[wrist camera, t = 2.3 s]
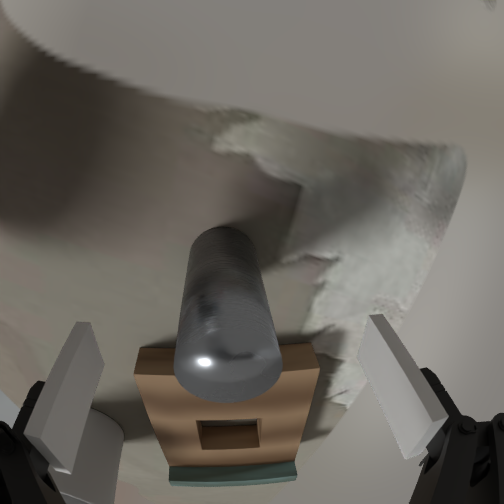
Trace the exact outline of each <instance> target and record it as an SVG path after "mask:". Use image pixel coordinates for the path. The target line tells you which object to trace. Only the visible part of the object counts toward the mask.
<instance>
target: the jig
mask: <svg viewBox="0 0 504 504" xmlns="http://www.w3.org/2000/svg"><path fill="white" fill-rule="evenodd" d="M175 349H176V348H140V349H139V353H138V357H137V362H136V366H135V370H134V377H135V380H136V383H137V386H138V389H139V392H140V395H141V397H142V400H143V403H144V406H145V408H146V411H147V414H148V416H149V419H150V422H151V424H152V427H153V429H154V432H155V434H156V436H157V439H158V441H159V444H160V446H161V448H162V451H163V453H164V455H165V457H166V460H167V462H168V464H169V482H170V484H171V486H192V487H220V486H244V485H258V484H269V483H279V482H287V481H294V480H296V478H297V471H296V467H295V462H294V461H295V457H296V454H297V451H298V448H299V444H300V441H301V438H302V434H303V431H304V427H305V424H306V420H307V417H308V413H309V410H310V406H311V402H312V398H313V395H314V391H315V387H316V383H317V379H318V375H319V371H320V366H319V363H318V361H317V358H316V355H315V352H314V350H313V347H312V344H311V343H299V344H286V345H279V349H280V353H281V357H282V362H283V368H282V373H281V375H280V377H279V379H278V380H277V382H276V383H275V384H274V385H273V386H272V387H271V388H270V389H269V390H268V391H266V392H265V393H263V394H261V395H259V396H257V397H255V398H252V399H249V400H246V401H241V402H234V403H219V402H212V401H208V400H204V399H201V398H199V397H197V396H195V395H193V394H191V393H189V392H188V391H187V390H185V389H184V388H183V387H182V386H181V385H180V383H179V382H178V381H177V379H176V377H175V374H174V368H173V366H174V357H175ZM253 418H257V425H243V426H217V427H202V425H201V420H235V419H253Z"/></svg>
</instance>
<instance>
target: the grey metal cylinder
mask: <svg viewBox="0 0 504 504" xmlns="http://www.w3.org/2000/svg"><path fill="white" fill-rule="evenodd" d="M173 368H174V374H175V377H176V379H177V381H178V382H179V383H180V385H181V386H182V387H183V388H184V389H185V390H187V391H188V392H189V393H191V394H193V395H195V396H197V397H199V398H201V399H204V400H208V401H212V402H219V403H234V402H241V401H246V400H249V399H252V398H255V397H257V396H259V395H261V394H263V393H265V392H266V391H268V390H269V389H270V388H271V387H272V386H273V385H274V384H275V383H276V382H277V380H278V379H279V377H280V375H281V373H282V368H283V362H282V357H281V353H280V349H279V345H278V341H277V337H276V333H275V328H274V324H273V320H272V316H271V312H270V308H269V304H268V300H267V296H266V292H265V288H264V284H263V280H262V276H261V272H260V268H259V264H258V259H257V255H256V251H255V248H254V245H253V243H252V242H251V240H250V239H249V238H248V237H247V236H246V235H245V234H244V233H242V232H241V231H239V230H236V229H234V228H229V227H217V228H212V229H209V230H207V231H205V232H204V233H202V234H201V235H200V236H198V238H197V239H196V240H195V241H194V243H193V245H192V247H191V250H190V255H189V261H188V267H187V273H186V279H185V285H184V292H183V298H182V305H181V312H180V319H179V326H178V334H177V341H176V349H175V357H174V366H173Z"/></svg>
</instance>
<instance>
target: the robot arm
mask: <svg viewBox="0 0 504 504" xmlns="http://www.w3.org/2000/svg"><path fill="white" fill-rule="evenodd" d="M357 358H358V360H359V362H360V364H361V366H362V368H363V370H364V372H365V374H366V377H367V379H368V381H369V383H370V385H371V387H372V389H373V391H374V393H375V395H376V397H377V400H378V402H379V404H380V406H381V408H382V410H383V412H384V414H385V417H386V419H387V421H388V423H389V425H390V428H391V429H392V432H393V434H394V436H395V439H396V441H397V443H398V445H399V447H400V450H401V452H402V454H403V457H404V459H405V460H406V459H409V458H411V457H415V456H418V455H420V454H421V453H422V451H423V450H424V449H425V448H427V450H428V452H429V453H428V454H427V455H426V456H425V458H424V459H423V460H422V461H421V462H420V464H419V466H421V465H422V464H423V463H424V465H423V468H422V470H421V473H420V476H419V479H418V482H417V484H416V487H415V490H414V492H413V495H412V497H411V500H410V502H409V504H504V413H499V414H497V415H496V416H494V418H493V419H492V420H491V421H486V422H476V421H475V420H474V419H473V418H471V417H469V416H463V415H461V413H460V412H459V410H458V408H457V407H456V405H455V404H454V402H453V400H452V399H451V397H450V396H449V394H448V393H447V391H445V388H444V387H443V385H442V384H441V382H440V380H439V379H438V377H437V376H436V374H434V373H433V372H432V371H431V370H429V369H428V368H422V369H419V368H418V366H417V365H416V363H415V361H414V360H413V358H412V357H411V355H410V354H409V352H408V351H407V349H406V348H405V346H404V345H403V343H402V342H401V340H400V339H399V337H398V336H397V334H396V333H395V331H394V330H393V328H392V327H391V326H390V324H389V323H388V321H387V320H386V318H385V317H384V315H383V314H377V315H369V317H368V320H367V324H366V328H365V331H364V335H363V338H362V342H361V345H360V349H359V352H358V355H357ZM104 365H105V364H104V362H103V359H102V356H101V353H100V350H99V347H98V345H97V342H96V339H95V335H94V332H93V329H92V326H91V323H90V322H76V324H75V326H74V327H73V329H72V331H71V333H70V335H69V337H68V339H67V340H66V342H65V344H64V346H63V348H62V350H61V352H60V354H59V356H58V358H57V360H56V362H55V364H54V366H53V368H52V370H51V372H50V374H49V376H48V378H47V380H46V382H43V381H37V382H36V383H35V384H34V385H33V386H32V387H31V388H30V390H29V393H28V395H27V397H26V399H25V401H24V403H23V407H21V410H20V412H19V414H18V417H17V419H16V421H15V423H14V426H13V428H12V429H11V428H10V427H9V425H8V424H6V423H5V422H3V421H0V504H66V503H65V501H64V499H63V497H62V495H61V494H60V492H59V490H58V488H57V486H56V484H55V482H54V480H53V478H52V476H51V474H50V473H49V471H48V467H49V464H50V465H51V466H52V467H53V468H54V469H55V470H56V471H59V472H63V473H67V474H72V471H73V467H74V463H75V459H76V455H77V451H78V447H79V444H80V440H81V437H82V433H83V430H84V426H85V423H86V420H87V416H88V413H89V410H90V407H91V404H92V400H93V397H94V394H95V391H96V388H97V385H98V382H99V379H100V376H101V373H102V371H103V368H104Z"/></svg>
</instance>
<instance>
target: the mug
mask: <svg viewBox="0 0 504 504" xmlns="http://www.w3.org/2000/svg"><path fill="white" fill-rule="evenodd" d="M123 442H124V433H123V430H122V428H121V427H120V426H119V425H118V424H117V423H116V422H115V421H114V420H113V419H111V418H110V417H108V416H107V415H105V414H103V413H101V412H99V411H97V410H95V409H92V408H90V410H89V413H88V416H87V420H86V423H85V426H84V430H83V433H82V437H81V440H80V444H79V447H78V451H77V455H76V459H75V463H74V467H73V471H72V474H67V473H63V472H59V471H56V470H55V469H54V468H53V467H52V466H51V465H50V464H49V467H48V471H49V473H50V474H51V476H52V478H53V480H54V482H55V484H56V486H57V488H58V490H59V492H60V494H61V495H62V497H63V499H64V501H65V503H66V504H114V499H115V490H116V484H117V477H118V470H119V463H120V457H121V452H122V447H123Z"/></svg>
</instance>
